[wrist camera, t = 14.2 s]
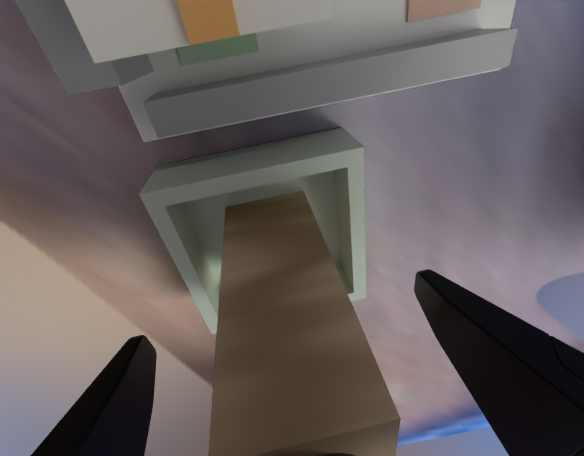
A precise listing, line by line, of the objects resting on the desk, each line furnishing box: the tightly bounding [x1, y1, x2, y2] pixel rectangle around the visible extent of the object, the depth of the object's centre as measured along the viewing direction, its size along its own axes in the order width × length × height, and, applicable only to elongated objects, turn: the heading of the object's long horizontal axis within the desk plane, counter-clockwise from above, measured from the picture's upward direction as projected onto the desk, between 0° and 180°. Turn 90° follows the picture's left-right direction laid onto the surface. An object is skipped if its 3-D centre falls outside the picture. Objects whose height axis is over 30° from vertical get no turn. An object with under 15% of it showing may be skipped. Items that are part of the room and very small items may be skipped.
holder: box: [139, 127, 366, 334], centre depth 13 cm, size 8×8×2 cm
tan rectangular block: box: [208, 191, 400, 456], centre depth 9 cm, size 3×3×10 cm
